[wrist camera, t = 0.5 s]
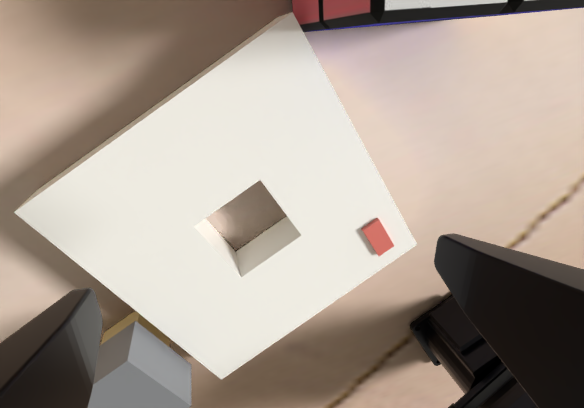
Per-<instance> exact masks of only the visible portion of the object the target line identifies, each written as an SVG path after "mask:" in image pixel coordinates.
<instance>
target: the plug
mask: <svg viewBox="0 0 584 408" xmlns="http://www.w3.org/2000/svg"><path fill="white" fill-rule="evenodd" d="M189 407H191V364H190V363H189V362H187V361H186V360H185V359H184V358H182V357H181V356H180V355H178V354H177V353H176V352H175V351H173V350H172V349H171V348H170V338H169V337H168V336H166V335H165V334H164V333H163V332H161V331H160V330H159V329H158V328H157V327H155V326H154V325H153V324H152V323H150V322H149V321H148V320H147V319H145V318H144V317H143V316H142V315H140V314H139V313H138V312H137V311H134V312H133V313H131V314H130V315H128V316H127V317H125V318H124V319H123V320H121V321H120V322H118V323H117V324H115V325H114V326H113V327H111V328H110V329H108V330H107V331H105V332H104V335H103V338H102V341H101V345H100V346H99V351H98V358H97V365H96V371H95V378H94V383H93V389H92V393H91V397H90V401H89V404H88V408H189Z"/></svg>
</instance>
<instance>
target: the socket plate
mask: <svg viewBox="0 0 584 408" xmlns="http://www.w3.org/2000/svg"><path fill="white" fill-rule="evenodd" d="M259 180H261V182H262V183H263V184H264V186H265V187H266V188H267V190H268V191H269V192H270V194H271V195H272V196H273V198H274V199H275V200H276V202H277V203H278V204H279V206H280V207H281V208H282V210H283V211H284V213H285V214H286V215H287V216H286V217H285V218H283V219H282V220H280V221H279V222H277V223H276V224H275V225H273V226H272V227H270V228H269V229H267V230H266V231H265V232H263V233H262V234H260V235H259V236H257V237H256V238H255V239H253V240H252V241H250V242H249V243H248V244H246V245H245V246H243V247H242V248H240V249H239V250H238V251H236V252H235V251H234V249H233V248H232V247H231V246H230V245H229V244H228V243H227V242H226V241H225V239H224V238H223V237H222V236H221V235H220V234H219V233H218V232H217V231H216V229H215V228H214V227H213V226H212V225H211V224H210V223H209V222H208V221H207V219H206V218H207V217H208V216H210V215H211V214H212V213H214V212H215V211H217V210H218V209H219V208H221V207H222V206H224V205H225V204H227V203H228V202H229V201H231V200H232V199H234V198H235V197H236V196H238V195H239V194H241V193H242V192H244V191H245V190H246V189H248V188H249V187H251V186H252V185H254V184H255V183H256V182H258V181H259ZM14 213H15V214H16V215H18V216H19V217H20V218H21V219H23V220H24V221H25V222H26V223H28V224H29V225H30V226H31V227H32V228H34V229H35V230H36V231H37V232H39V233H40V234H41V235H42V236H44V237H45V238H46V239H47V240H49V241H50V242H51V243H52V244H54V245H55V246H56V247H57V248H59V249H60V250H61V251H62V252H64V253H65V254H66V255H67V256H68V257H70V258H71V259H72V260H73V261H75V262H76V263H77V264H78V265H80V266H81V267H82V268H83V269H85V270H86V271H87V272H88V273H90V274H91V275H92V276H93V277H95V278H96V279H97V280H98V281H99V282H101V283H102V284H103V285H104V286H106V287H107V288H108V289H109V290H111V291H112V292H113V293H114V294H116V295H117V296H118V297H119V298H121V299H122V300H123V301H124V302H126V303H127V304H128V305H129V306H130V307H132V308H133V309H134V310H135V311H137V312H138V313H139V314H140V315H142V316H143V317H144V318H145V319H147V320H148V321H149V322H150V323H152V324H153V325H154V326H155V327H157V328H158V329H159V330H160V331H161V332H163V333H164V334H165V335H166V336H168V337H169V338H170V339H171V340H173V341H174V342H175V343H176V344H178V345H179V346H180V347H181V348H183V349H184V350H185V351H186V352H188V353H189V354H190V355H191V356H192V357H194V358H195V359H196V360H197V361H199V362H200V363H201V364H202V365H204V366H205V367H206V368H207V369H209V370H210V371H211V372H212V373H214V374H215V375H216V376H217V377H219V378H220V379H221V380H222V379H223V378H225V377H226V376H228V375H229V374H230V373H232V372H233V371H235V370H236V369H238V368H239V367H241V366H242V365H243V364H245V363H246V362H248V361H249V360H251V359H252V358H254V357H255V356H256V355H258V354H259V353H261V352H262V351H264V350H265V349H267V348H268V347H270V346H271V345H272V344H274V343H275V342H277V341H278V340H280V339H281V338H283V337H284V336H285V335H287V334H288V333H290V332H291V331H293V330H294V329H296V328H297V327H298V326H300V325H301V324H303V323H304V322H306V321H307V320H309V319H310V318H312V317H313V316H314V315H316V314H317V313H319V312H320V311H322V310H323V309H325V308H326V307H327V306H329V305H330V304H332V303H333V302H335V301H336V300H338V299H339V298H340V297H342V296H343V295H345V294H346V293H348V292H349V291H351V290H352V289H354V288H355V287H356V286H358V285H359V284H361V283H362V282H364V281H365V280H367V279H368V278H369V277H371V276H372V275H374V274H375V273H377V272H378V271H380V270H381V269H382V268H384V267H385V266H387V265H388V264H390V263H391V262H393V261H394V260H396V259H397V258H398V257H400V256H401V255H403V254H404V253H406V252H407V251H409V250H410V249H411V248H413V247H414V246H416V245H417V243H416V241H415V240H414V238H413V236H412V234H411V232H410V230H409V228H408V227H407V225H406V223H405V221H404V219H403V217H402V215H401V213H400V212H399V210H398V208H397V206H396V204H395V202H394V200H393V199H392V197H391V195H390V193H389V191H388V189H387V187H386V185H385V184H384V182H383V180H382V178H381V176H380V174H379V172H378V171H377V169H376V167H375V165H374V163H373V161H372V159H371V157H370V156H369V154H368V152H367V150H366V148H365V146H364V144H363V143H362V141H361V139H360V137H359V135H358V133H357V131H356V129H355V128H354V126H353V124H352V122H351V120H350V118H349V116H348V115H347V113H346V111H345V109H344V107H343V105H342V103H341V101H340V100H339V98H338V96H337V94H336V92H335V90H334V88H333V87H332V85H331V83H330V81H329V79H328V77H327V75H326V73H325V72H324V70H323V68H322V66H321V64H320V62H319V60H318V59H317V57H316V55H315V53H314V51H313V49H312V47H311V45H310V44H309V42H308V40H307V38H306V36H305V34H304V32H303V31H302V29H301V27H300V25H299V23H298V21H297V19H296V17H295V16H294V14H293V12H291V13H288V14H285V15H282V16H279V17H277V18H276V19H274V20H273V21H272V22H270V23H269V24H267V25H266V26H265V27H263V28H262V29H260V30H259V31H258V32H256V33H255V34H254V35H252V36H251V37H249V38H248V39H247V40H245V41H244V42H242V43H241V44H240V45H238V46H237V47H235V48H234V49H233V50H231V51H230V52H228V53H227V54H226V55H224V56H223V57H221V58H220V59H219V60H217V61H216V62H215V63H213V64H212V65H210V66H209V67H208V68H206V69H205V70H203V71H202V72H201V73H199V74H198V75H196V76H195V77H194V78H192V79H191V80H189V81H188V82H187V83H185V84H184V85H183V86H181V87H180V88H178V89H177V90H176V91H174V92H173V93H171V94H170V95H169V96H167V97H166V98H164V99H163V100H162V101H160V102H159V103H157V104H156V105H155V106H153V107H152V108H151V109H149V110H148V111H146V112H145V113H144V114H142V115H141V116H139V117H138V118H137V119H135V120H134V121H132V122H131V123H130V124H128V125H127V126H125V127H124V128H123V129H121V130H120V131H118V132H117V133H116V134H114V135H113V136H112V137H110V138H109V139H107V140H106V141H105V142H103V143H102V144H100V145H99V146H98V147H96V148H95V149H93V150H92V151H91V152H89V153H88V154H86V155H85V156H84V157H82V158H81V159H80V160H78V161H77V162H75V163H74V164H73V165H71V166H70V167H68V168H67V169H66V170H64V171H63V172H61V173H60V174H59V175H57V176H56V177H54V178H53V179H52V180H50V181H49V182H48V183H46V184H45V185H43V186H42V187H41V188H39V189H38V190H37V191H36V192H35V193H34V194H33V195H31V196H30V197H29V198H28V199H27V200H26V201H25V202H24V203H23V204H22V205H21V206H20V207H19V208H18V209H17V210H16V211H15V212H14Z"/></svg>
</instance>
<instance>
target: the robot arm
mask: <svg viewBox="0 0 584 408" xmlns="http://www.w3.org/2000/svg"><path fill="white" fill-rule="evenodd" d="M434 264H435V267H436V270H437V271H438V273H439V274H440V276H441V278H442V279H443V281H444V282H445V284H446V285H447V287H448V289H449V290H450V292H451V293H452V296H450V297H449V298H448V299H446V300H445V301H443V302H442V303H440V304H439V305H437V306H436V307H434V308H433V309H431V310H430V311H429V312H427V313H426V314H424V315H423V316H421V317H420V318H418V319H417V320H415V321H414V322H413V323H411V325H410V329H411V330H412V332H413V333H414V335H415V337H416V338H417V340H418V341H419V343H420V344H421V346H422V347H423V349H424V350H425V352H426V353H427V355H428V356H429V358H430V359H431V361H432V362H433V364H434V365H436V366H438V365H440V364H442V365H443V367H444V368H445V369H446V370H447V372H448V373H449V374H450V376H451V377H452V378H453V379H454V381H455V382H456V383H457V384H458V386H459V387H460V388H461V390H462V391H463V392H464V393H465V395H464V396H463V397H461V398H460V399H459V400H458V401H457V402H456V403H455V404H454V403H453V404H452V405H450V406H449V407H448V408H584V269H580V268H576V267H573V266H569V265H566V264H562V263H558V262H555V261H551V260H548V259H544V258H540V257H537V256H533V255H530V254H526V253H522V252H519V251H515V250H512V249H508V248H504V247H501V246H497V245H494V244H490V243H486V242H483V241H479V240H476V239H472V238H468V237H465V236H461V235H458V234H446V235H441V236H440V237H439V238H438V241H437V247H436V253H435V259H434ZM101 331H102V315H101V311H100V308H99V305H98V301H97V298H96V294H95V292H94V290H93V289H92V288H84V289H77V290H73V291H71V292H69V293H68V294H67V295H65V296H64V297H62V298H61V299H60V300H58V301H57V302H56V303H54V304H53V305H52V306H50V307H49V308H48V309H46V310H45V311H43V312H42V313H41V314H39V315H38V316H37V317H35V318H34V319H33V320H31V321H30V322H28V323H27V324H26V325H24V326H23V327H22V328H20V329H19V330H18V331H16V332H15V333H13V334H12V335H11V336H9V337H8V338H7V339H5V340H4V341H3V342H1V343H0V408H88V404H89V401H90V397H91V393H92V389H93V383H94V378H95V371H96V365H97V358H98V351H99V345H100V338H101Z"/></svg>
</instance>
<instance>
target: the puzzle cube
mask: <svg viewBox="0 0 584 408" xmlns="http://www.w3.org/2000/svg"><path fill="white" fill-rule="evenodd" d="M573 8H584V0H292V9H293V14H294V16H295V17H296V19H297V21H298V23H299V25H300V27H301V29H302V31H303V32H310V31H322V30H333V29H345V28H357V27H369V26H380V25H392V24H404V23H416V22H428V21H440V20H451V19H463V18H475V17H486V16H498V15H509V14H519V13H530V12H541V11H552V10H562V9H573Z"/></svg>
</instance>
